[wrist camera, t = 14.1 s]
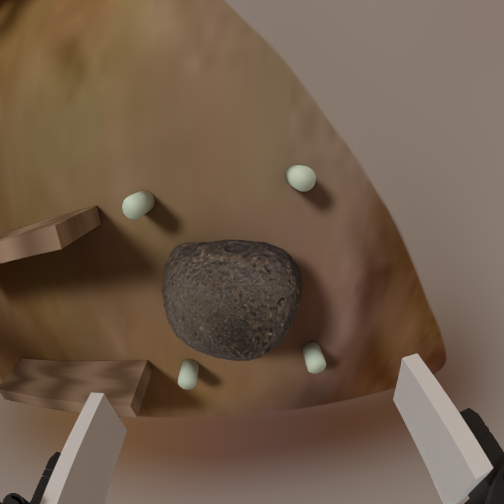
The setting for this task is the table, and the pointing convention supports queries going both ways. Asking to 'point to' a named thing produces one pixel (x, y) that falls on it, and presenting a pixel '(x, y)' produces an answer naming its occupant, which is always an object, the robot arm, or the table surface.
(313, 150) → the table surface
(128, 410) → the channel
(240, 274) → the stone
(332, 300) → the table surface
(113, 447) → the robot arm
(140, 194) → the zone posts
